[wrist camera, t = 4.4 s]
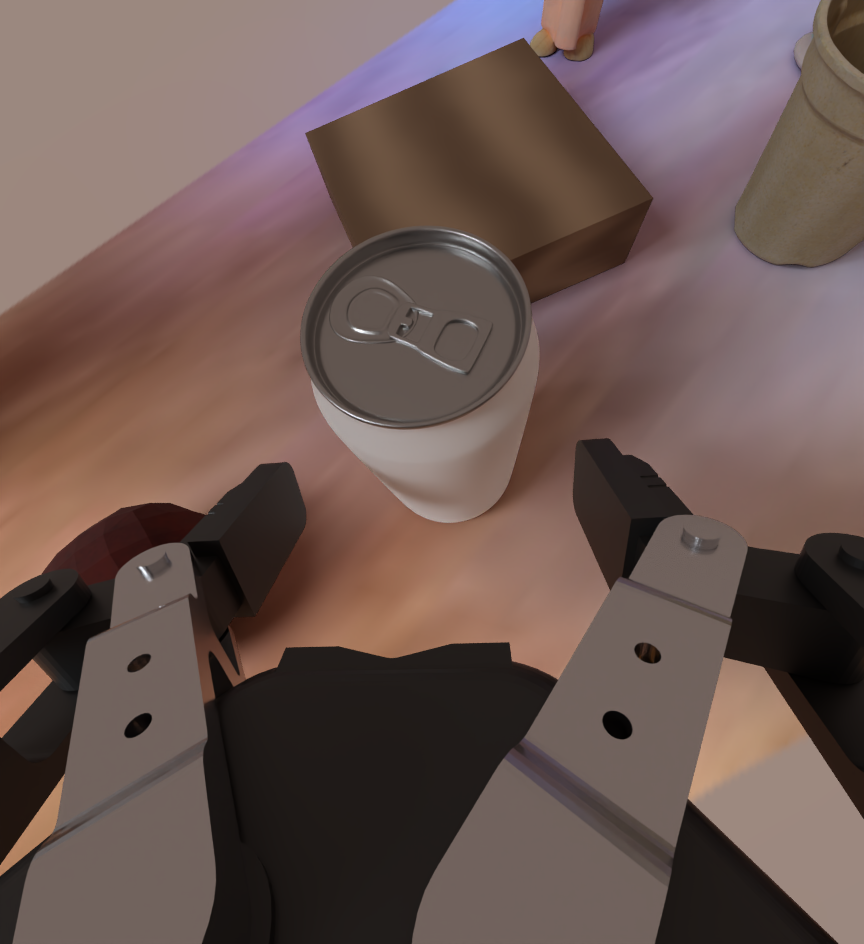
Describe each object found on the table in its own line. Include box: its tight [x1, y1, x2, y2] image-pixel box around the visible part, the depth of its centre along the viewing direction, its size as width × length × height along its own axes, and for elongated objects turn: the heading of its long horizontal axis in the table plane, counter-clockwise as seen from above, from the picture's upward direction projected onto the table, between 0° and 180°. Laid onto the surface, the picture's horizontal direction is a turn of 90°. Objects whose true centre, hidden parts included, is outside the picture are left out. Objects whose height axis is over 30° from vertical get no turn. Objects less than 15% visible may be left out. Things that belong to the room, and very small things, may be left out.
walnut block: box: [305, 38, 653, 303], centre depth 23 cm, size 14×14×4 cm
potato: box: [42, 503, 205, 586], centre depth 17 cm, size 7×8×7 cm
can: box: [300, 226, 540, 523], centre depth 15 cm, size 6×6×12 cm
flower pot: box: [734, 0, 864, 267], centre depth 18 cm, size 9×9×9 cm
